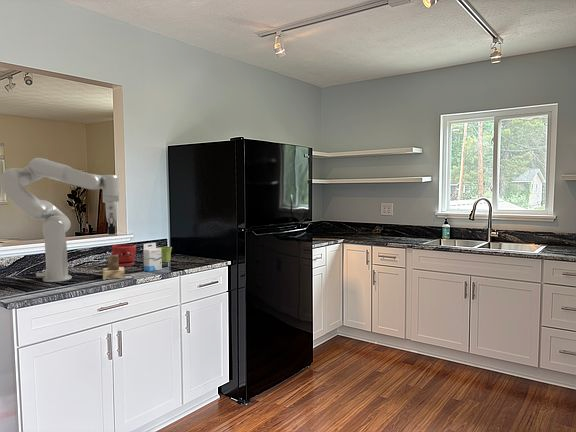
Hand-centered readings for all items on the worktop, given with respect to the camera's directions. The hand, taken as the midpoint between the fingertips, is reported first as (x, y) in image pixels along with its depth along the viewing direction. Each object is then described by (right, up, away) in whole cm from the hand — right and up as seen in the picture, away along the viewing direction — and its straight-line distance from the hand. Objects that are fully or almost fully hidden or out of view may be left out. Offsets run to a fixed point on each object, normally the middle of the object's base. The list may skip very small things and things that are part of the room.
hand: (111, 233), depth 220 cm
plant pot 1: (-6, -20, +33) cm, 39 cm away
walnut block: (0, -18, +1) cm, 18 cm away
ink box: (+15, -21, +19) cm, 32 cm away
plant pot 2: (+14, -19, +46) cm, 51 cm away
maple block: (0, -22, +1) cm, 22 cm away
